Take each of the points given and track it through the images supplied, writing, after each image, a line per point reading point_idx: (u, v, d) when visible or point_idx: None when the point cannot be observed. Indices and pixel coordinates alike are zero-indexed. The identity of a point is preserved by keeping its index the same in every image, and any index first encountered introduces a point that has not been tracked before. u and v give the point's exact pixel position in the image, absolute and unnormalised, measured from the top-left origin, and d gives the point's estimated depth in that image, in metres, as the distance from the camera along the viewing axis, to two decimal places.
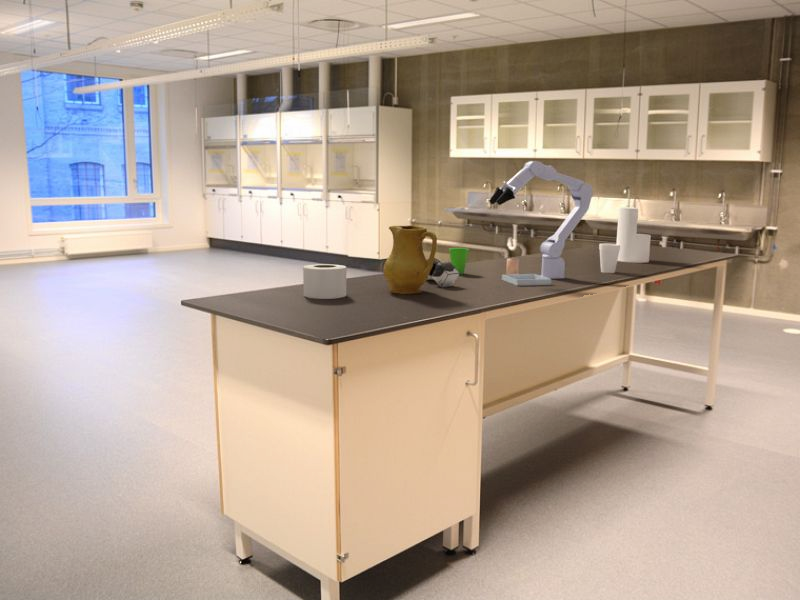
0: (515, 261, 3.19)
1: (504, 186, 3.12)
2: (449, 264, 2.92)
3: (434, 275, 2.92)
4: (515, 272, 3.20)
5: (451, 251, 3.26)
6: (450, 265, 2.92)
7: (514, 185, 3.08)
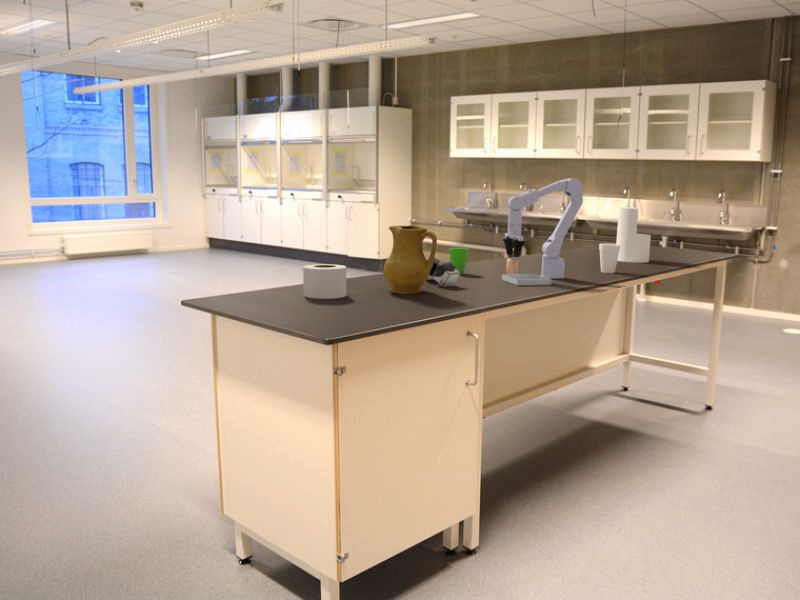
0: (515, 261, 3.19)
1: None
2: (450, 264, 2.92)
3: (435, 275, 2.91)
4: (515, 272, 3.20)
5: (451, 251, 3.26)
6: (451, 265, 2.92)
7: (515, 231, 3.16)
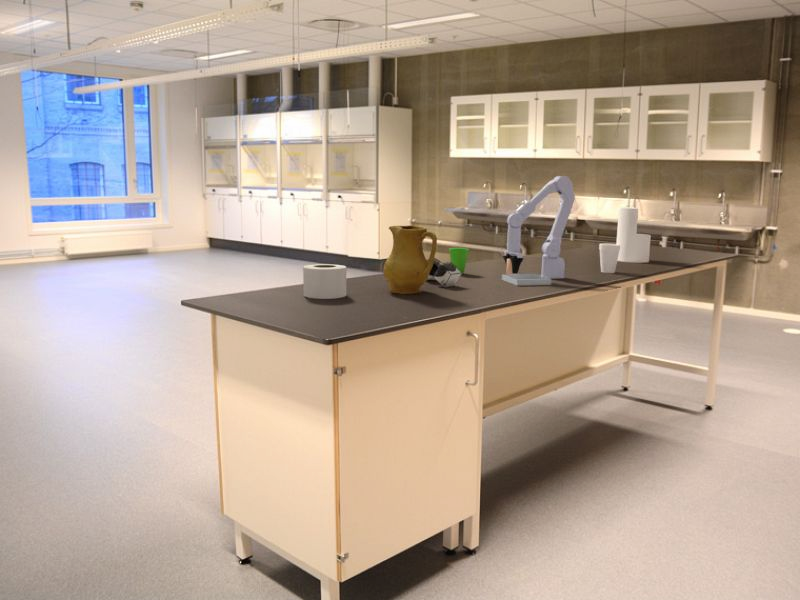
0: None
1: None
2: (451, 264, 2.93)
3: (436, 275, 2.91)
4: None
5: (451, 251, 3.26)
6: (452, 265, 2.92)
7: (514, 248, 3.17)
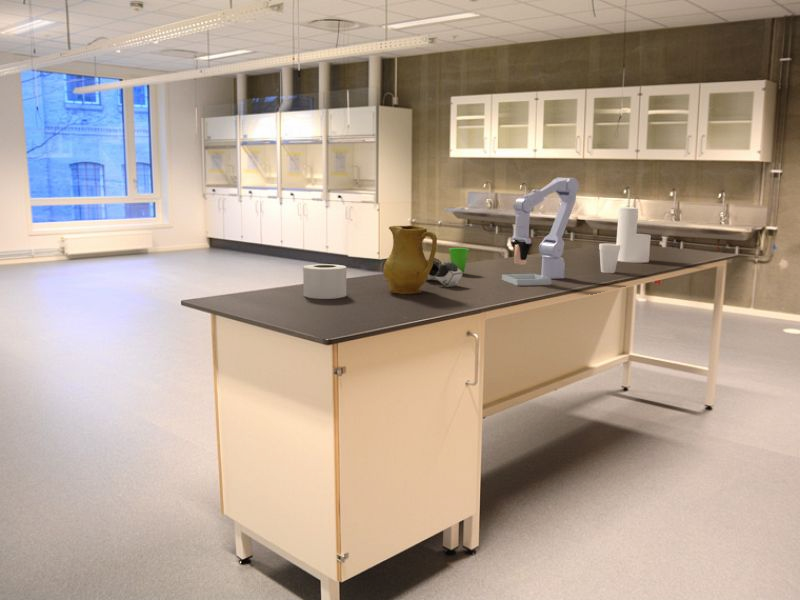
0: None
1: (515, 238, 3.12)
2: (452, 264, 2.93)
3: (438, 275, 2.91)
4: None
5: (451, 251, 3.26)
6: (453, 265, 2.93)
7: (523, 234, 3.08)
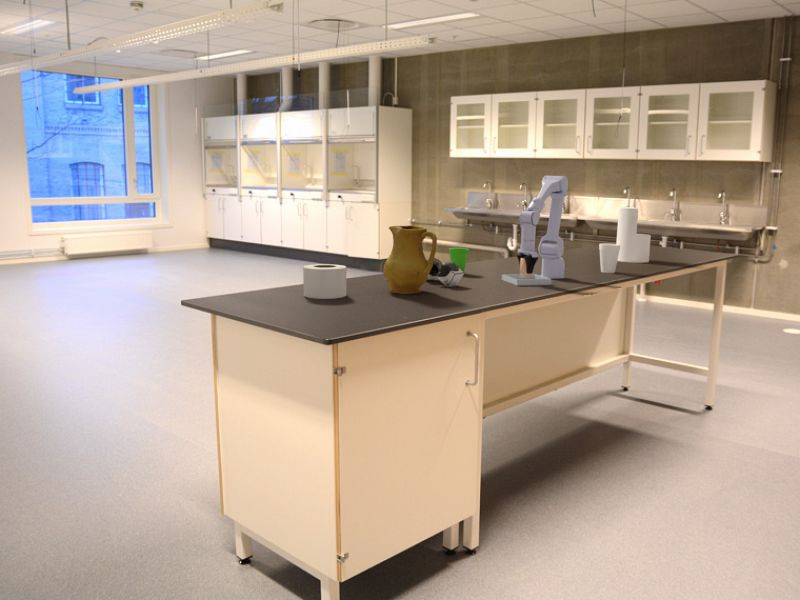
0: None
1: None
2: (453, 264, 2.93)
3: (439, 275, 2.91)
4: None
5: (451, 251, 3.26)
6: (454, 265, 2.93)
7: (529, 247, 3.02)
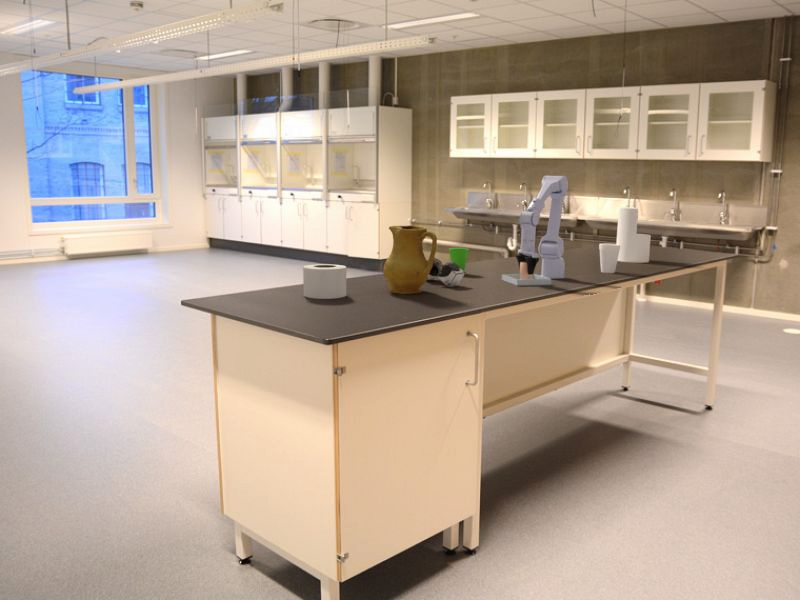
0: None
1: None
2: (454, 264, 2.93)
3: (440, 275, 2.92)
4: (529, 276, 3.04)
5: (451, 251, 3.26)
6: (455, 265, 2.93)
7: (529, 248, 3.02)
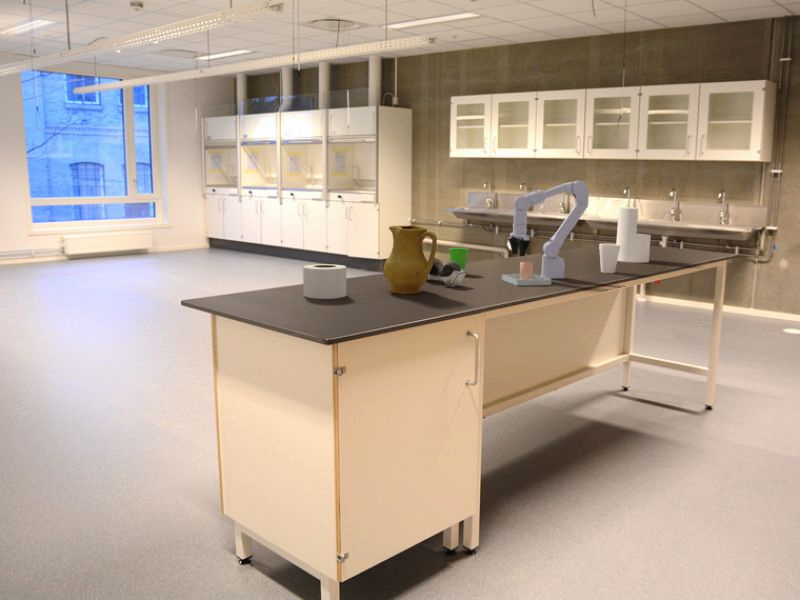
0: (529, 265, 3.03)
1: (513, 235, 3.22)
2: (455, 264, 2.94)
3: (442, 275, 2.92)
4: (529, 276, 3.04)
5: (451, 251, 3.26)
6: (457, 265, 2.93)
7: (521, 231, 3.18)
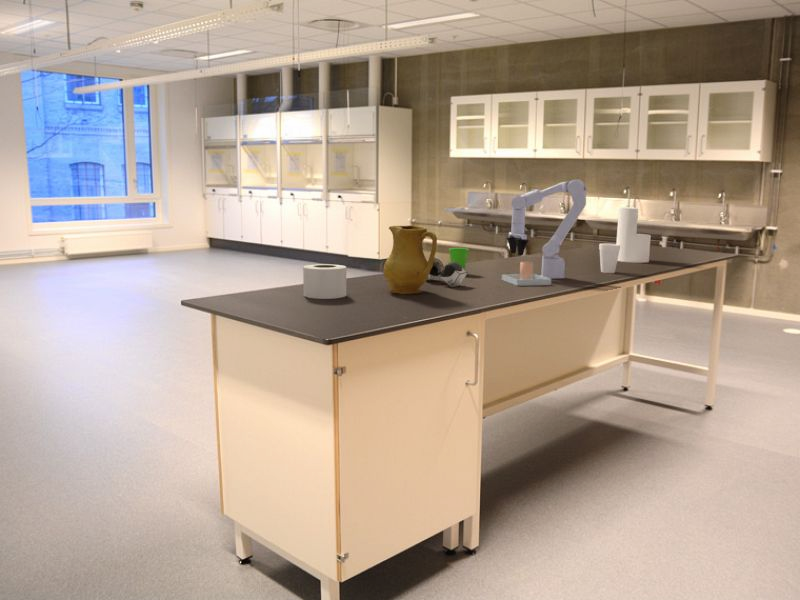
0: (529, 265, 3.03)
1: None
2: (456, 264, 2.94)
3: (443, 275, 2.92)
4: (529, 276, 3.04)
5: (451, 251, 3.26)
6: (458, 265, 2.94)
7: (519, 230, 3.22)
